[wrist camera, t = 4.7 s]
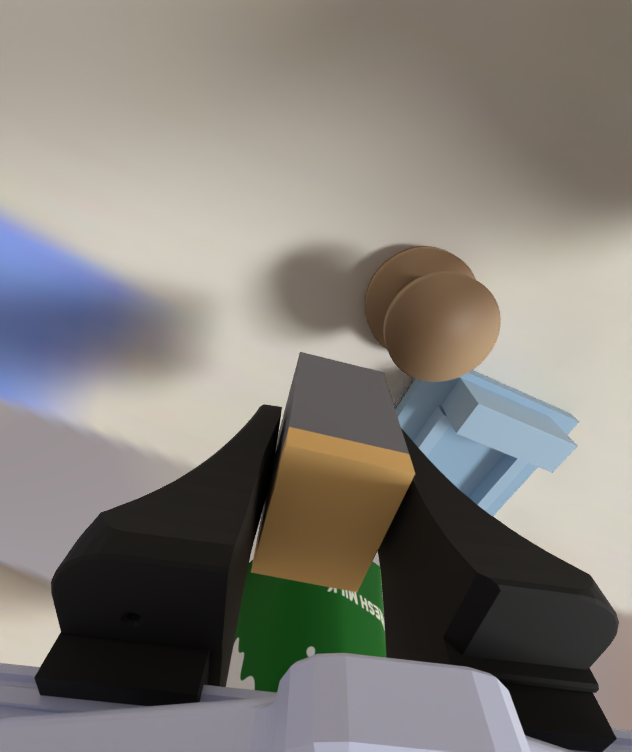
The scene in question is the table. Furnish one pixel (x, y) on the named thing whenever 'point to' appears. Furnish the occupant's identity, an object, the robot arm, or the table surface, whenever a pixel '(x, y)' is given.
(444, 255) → the bobbin
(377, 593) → the soya milk
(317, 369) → the orange and grey block
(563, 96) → the table surface
